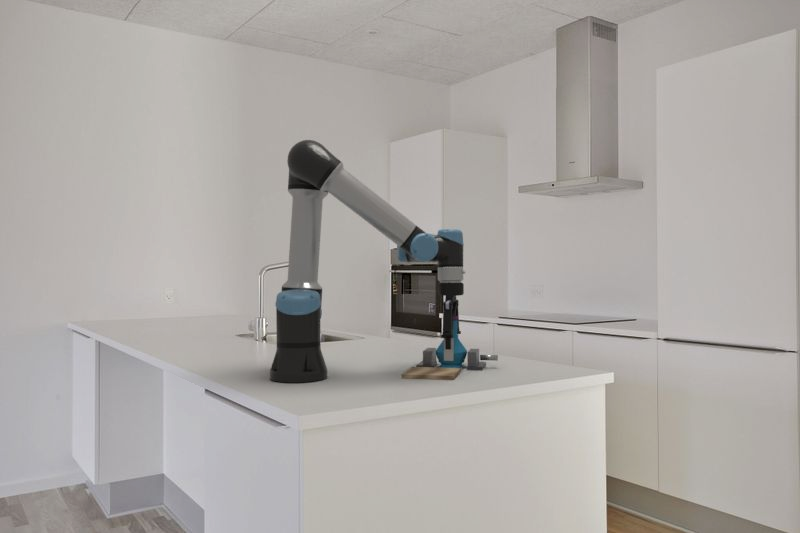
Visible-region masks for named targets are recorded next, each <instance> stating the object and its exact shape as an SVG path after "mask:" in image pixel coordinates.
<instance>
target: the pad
mask: <svg viewBox="0 0 800 533" xmlns="http://www.w3.org/2000/svg"><path fill="white" fill-rule="evenodd" d="M461 372H462V368H443V367H440V366H439V367H437V366H436V367H435V366H434V367H416V366H411V367H410V368H409V369H407V370H406V371H405V372H403V373H402V374H401V379H411V380H413V379H416V380H418V379H419V380H443V381H444V380H446V381H454V380H456V378H457V377H458V376H459V375H460V374H461Z"/></svg>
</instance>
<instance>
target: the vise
mask: <svg viewBox="0 0 800 533" xmlns="http://www.w3.org/2000/svg"><path fill="white" fill-rule="evenodd" d="M436 350H437V347H427V348H425V349H424V350H422V360H421V361H420V362H418V363H417V364H416V365H415V367H435V366H436V365H438V360H437V356H436ZM466 358H467V361H466V362H467V366H466V371H483V370H484V369H485V367H486V366H487V362H486V361H496V362H497V361H498V360H499V355H498V354H480V348H469V350H467V355H466Z"/></svg>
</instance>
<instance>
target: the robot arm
mask: <svg viewBox="0 0 800 533" xmlns="http://www.w3.org/2000/svg"><path fill="white" fill-rule="evenodd" d="M287 166H288V180H287V182H288V184H287V193H289V194H290V195H291V197H292V202H291V204H292V205H291V220H290V234H289V235H290V237H289V251H288V253H289V254H288V265H287V266H288V267H287V269H288V270H287V280H286V281H285V282H284V283H283V284H282V285H281V291H280V292H279V293H277V294H276V297H275V298H276V300H275V308H276V310H275V311H276V314H275V315H276V321H275V322H276V351H275V354H274V357H273V360H272V364H271V367H270V370H269V374H270V375H269V376H270V378H269V379H270V380H271V381H274V382H277V383H308V382H310V383H311V382H316V381H322V380H325V379H327V378H328V368H327V364H326V362H325V359H324V358H325V357H324V355H323V352H322V349H321V319H322V315H323V314H322V313H323V312H322V311H323V310H322V302H323V301H322V300H323V287H322V286H321V285H320V284H319V282H318V279H319V265H320V249H321V232H322V231H321V229H322V217H323V216H322V214H323V203H324V202H323V200H324V199H325V198H326V197H327V196H328V195H329V194H330V195H332V196H333V197H334V198H335V199H337V200H338V201H339V202H341V203H342V204H343V205H344V206H346V207H347V208H348V209H349V210H351V211H352V212H353V213H355V214H356V215H358V216H359V217H361V219H363V220H364V221H365V222H367V223H368V224H369V225H370V226H372V227H373V228H375V229H376V230H377V231H378V232H380V233H381V234H382V235H384V236H385V237H386V238H388V239H389V240H390V241H391V242H393V243H394V244H396V256H397V260H398V261H399V262H401V263H426V262H427V263H431V262H432V263H435V262H436V263H437V281H439V282H438V284H437V294H438V296H444V298H445V300H444V301H443V303H442V310H443V311H442V334H441V335H440V338H441V339H443V340H444V361H454V344H453V338H452V337H453V322H454V317H455V316H457V317H458V318H459V302H460V301H459V299H457V296H458V297H459V296H464V293H465V292H464V290H465V289H464V288H465V287H464V283H463V282H462V281H464V275H465V274H466V270H464V236H463V235H464V234H463V231H462V230H461V229H457V228H451V229H450V228H449V229H446V228H444V229H438V230H437V234H436V235H435V236H434V235H432V234H431V233H428V232H426V231H424V230H423V229H422V228H420V227H419V226H418V225H417V224H415V223H414V222H413V221H412V220H410V219H409V218H408V217H406V216H405V215H404V214H403V213H401V212H400V211H399V210H398V209H397V208H395V207H393V205H391V204H390V203H389V202H387V201H386V200H385V199H383V198H382V197H381V196H380V195H378V194H377V193H375V191H373V190H372V189H371V188H369V187H368V186H367V185H365V183H363V182H362V181H360V180H359V179H358V178H357V177H355V176H354V175H353V174H351V173H350V172H349V171H348V170H347V169H345V168H344V163H343V162H342V161H341V160H340V159H339V158H337V157H336V156H335V155H334V154H332V153H331V152H330V151H329V149H327V148H326V147H325V145H323V144H322V143H320V142H318V141H315V140H313V139H312V140H311V139H304V140H301V141H298V142H297V143H295V144H294V145H293V146H292V147H291V149H290V150H289V152H288V154H287ZM457 320H458V322H457V337H458V338H459V335H461V333H462V331H461V330H460V318H459V319H457Z"/></svg>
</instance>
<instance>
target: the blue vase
mask: <svg viewBox="0 0 800 533" xmlns="http://www.w3.org/2000/svg"><path fill="white" fill-rule="evenodd" d="M457 319H459V320H460V318H458V317H457V316H455V317H454V322H453V337H452V338H453V344H454V361H444V339H443V340H442V341H441V342H440V344H439V346H438V347H436V359H437V362H438V363H439V364H440V365H439V367H443V368H461V369H462V368H463V367H464V366H463V363H465V361H466V358H467V352H468V350H467V349H466V346H464V344H463V343H462V342H461V340H460V339H459V336H458V337H457V322H458V320H457Z"/></svg>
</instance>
